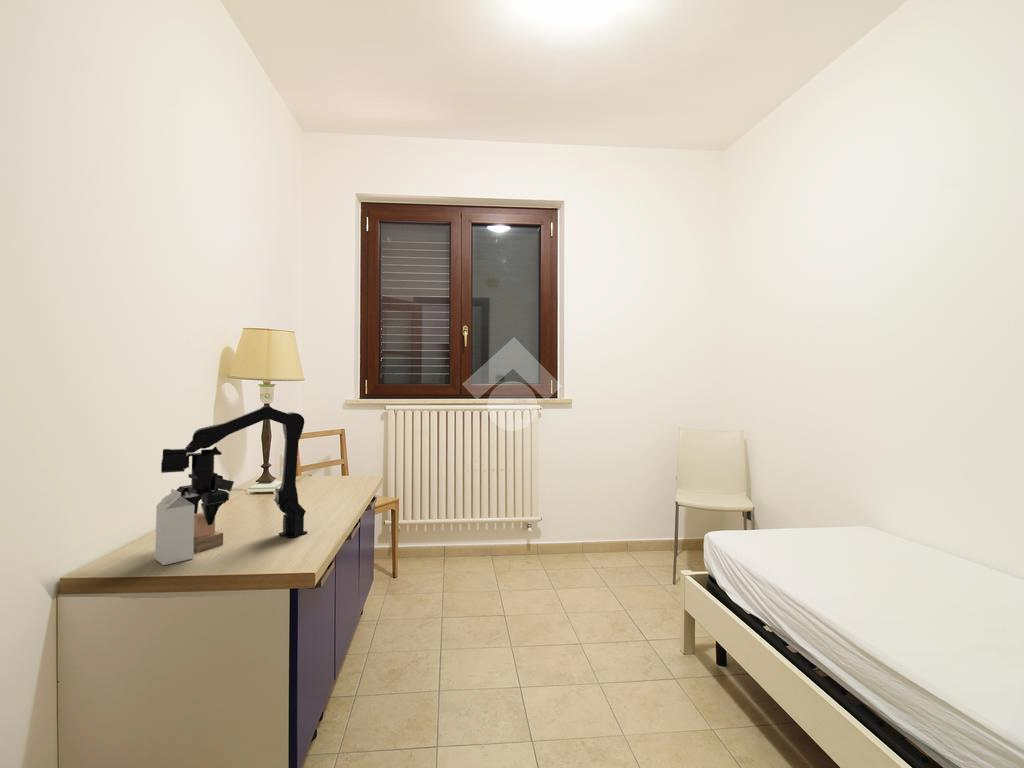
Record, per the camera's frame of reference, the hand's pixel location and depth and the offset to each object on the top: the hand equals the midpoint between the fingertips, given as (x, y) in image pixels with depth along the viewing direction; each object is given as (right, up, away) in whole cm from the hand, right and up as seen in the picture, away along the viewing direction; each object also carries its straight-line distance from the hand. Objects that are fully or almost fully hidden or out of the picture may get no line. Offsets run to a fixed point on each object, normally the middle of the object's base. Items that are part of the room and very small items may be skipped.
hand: (201, 522), depth 149 cm
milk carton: (-1, -7, -11) cm, 13 cm away
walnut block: (0, -8, 0) cm, 8 cm away
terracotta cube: (0, -4, 0) cm, 4 cm away
